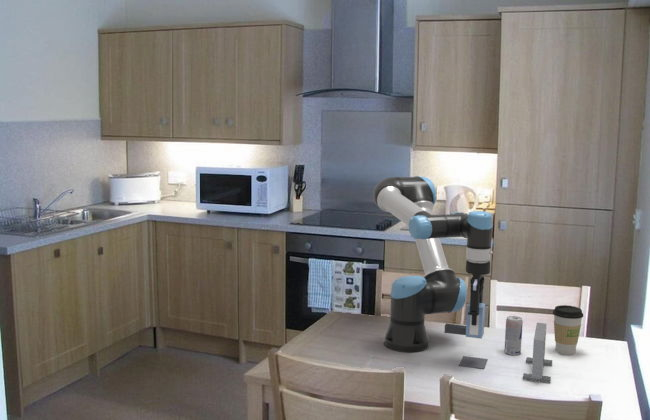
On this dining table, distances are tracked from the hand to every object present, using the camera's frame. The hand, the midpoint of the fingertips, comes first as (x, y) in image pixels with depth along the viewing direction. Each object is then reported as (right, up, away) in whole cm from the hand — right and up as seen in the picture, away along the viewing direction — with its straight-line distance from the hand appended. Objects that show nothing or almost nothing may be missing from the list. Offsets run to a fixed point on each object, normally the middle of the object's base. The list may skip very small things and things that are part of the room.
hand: (475, 331), depth 229 cm
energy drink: (+15, -9, +12) cm, 21 cm away
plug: (-3, -1, +1) cm, 4 cm away
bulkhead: (+19, -12, -5) cm, 22 cm away
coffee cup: (+33, -9, +14) cm, 37 cm away
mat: (0, -10, +2) cm, 11 cm away
